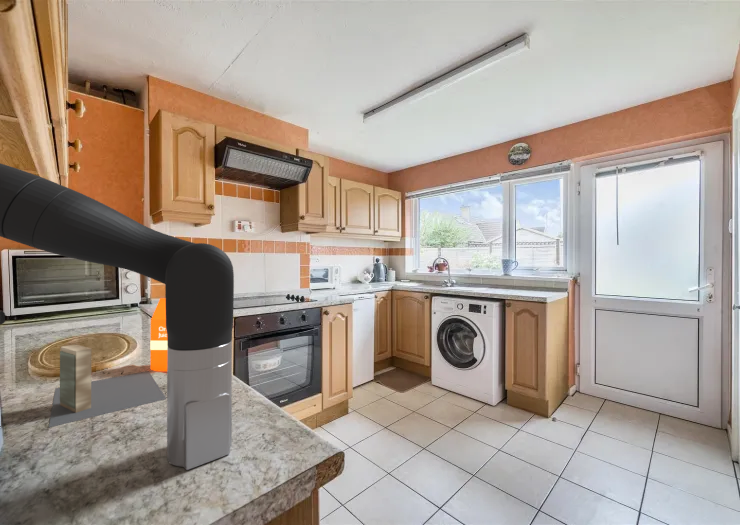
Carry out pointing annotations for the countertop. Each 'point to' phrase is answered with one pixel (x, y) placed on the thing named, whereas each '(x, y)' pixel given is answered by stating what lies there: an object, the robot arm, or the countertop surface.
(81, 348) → the birch plaque
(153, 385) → the rubber mat
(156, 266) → the robot arm
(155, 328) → the orange juice
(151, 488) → the countertop surface
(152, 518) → the countertop surface
